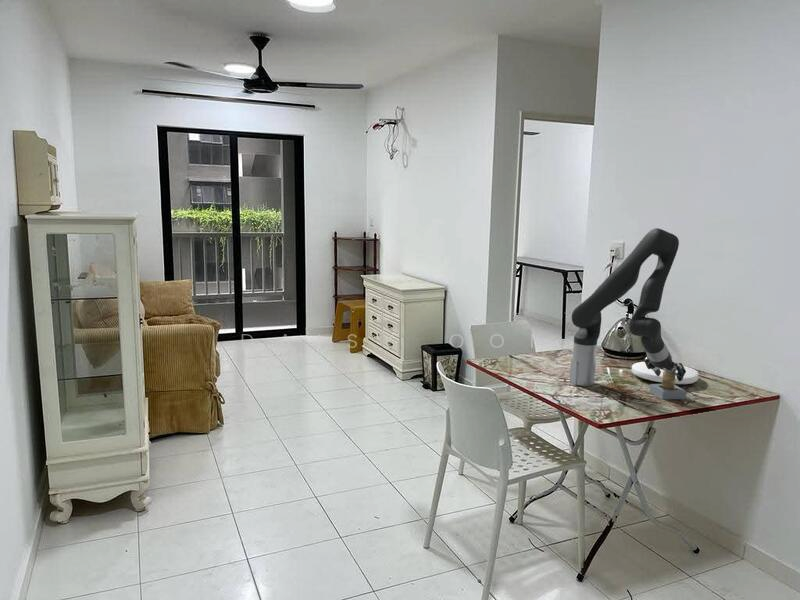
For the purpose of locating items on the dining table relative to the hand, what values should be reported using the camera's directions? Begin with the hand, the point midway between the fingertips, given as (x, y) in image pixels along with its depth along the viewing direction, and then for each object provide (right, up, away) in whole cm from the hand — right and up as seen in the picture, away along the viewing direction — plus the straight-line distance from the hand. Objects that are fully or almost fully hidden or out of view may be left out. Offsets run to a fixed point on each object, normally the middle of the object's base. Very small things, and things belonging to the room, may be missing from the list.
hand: (669, 376), depth 227 cm
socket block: (0, -7, +1) cm, 8 cm away
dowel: (0, -7, +1) cm, 8 cm away
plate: (+8, -4, +23) cm, 25 cm away
